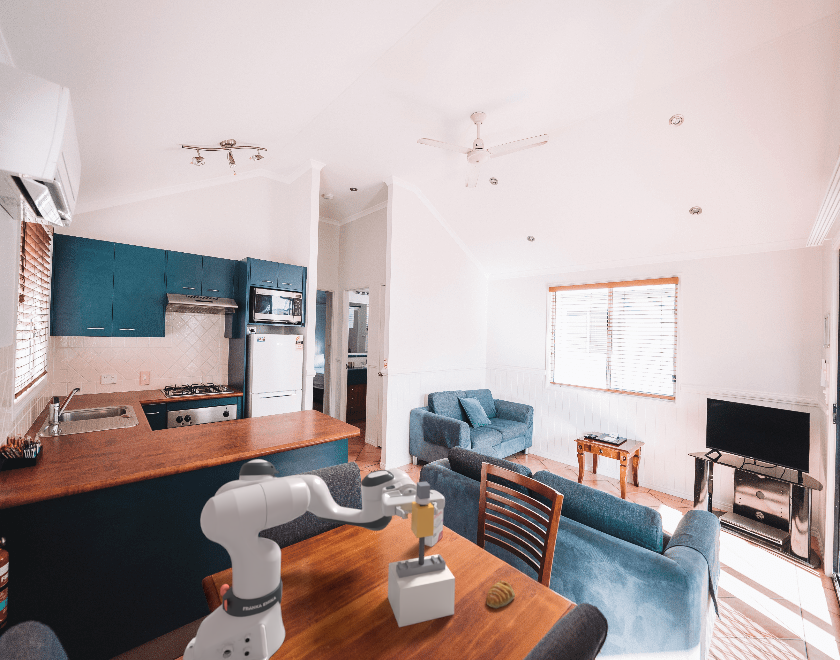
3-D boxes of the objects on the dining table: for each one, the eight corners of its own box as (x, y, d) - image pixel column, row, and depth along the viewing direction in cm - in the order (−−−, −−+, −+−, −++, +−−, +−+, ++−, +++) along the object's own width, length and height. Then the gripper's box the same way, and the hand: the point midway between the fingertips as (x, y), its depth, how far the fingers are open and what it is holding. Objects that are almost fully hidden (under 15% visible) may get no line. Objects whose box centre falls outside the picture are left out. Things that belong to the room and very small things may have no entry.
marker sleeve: (416, 538, 105) (417, 509, 105) (411, 529, 110) (411, 501, 110) (433, 535, 107) (434, 507, 107) (427, 526, 112) (427, 499, 112)
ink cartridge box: (432, 533, 148) (433, 495, 148) (443, 537, 145) (444, 499, 145) (420, 543, 141) (421, 503, 141) (431, 547, 138) (432, 507, 138)
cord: (416, 576, 105) (418, 487, 106) (411, 567, 110) (413, 481, 110) (430, 573, 107) (433, 486, 107) (425, 564, 111) (427, 480, 111)
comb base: (399, 627, 100) (400, 579, 100) (387, 597, 111) (389, 554, 111) (454, 614, 105) (455, 568, 105) (437, 586, 116) (439, 545, 117)
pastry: (500, 615, 106) (500, 601, 106) (479, 603, 110) (480, 589, 110) (516, 598, 113) (516, 585, 113) (496, 587, 117) (496, 575, 117)
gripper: (435, 501, 128) (452, 520, 115) (376, 508, 121) (387, 529, 108) (436, 482, 128) (453, 499, 115) (377, 488, 121) (388, 507, 108)
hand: (420, 514), depth 111 cm, fingers open, 8 cm apart
